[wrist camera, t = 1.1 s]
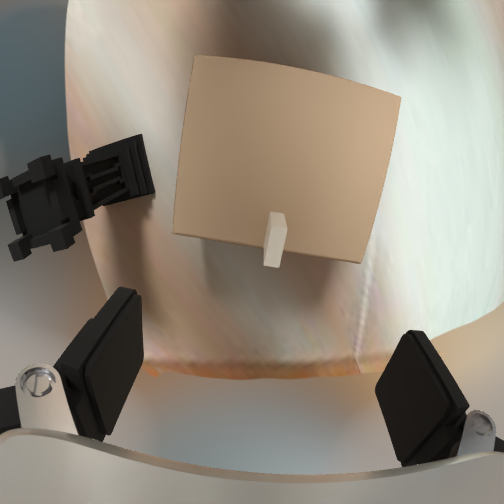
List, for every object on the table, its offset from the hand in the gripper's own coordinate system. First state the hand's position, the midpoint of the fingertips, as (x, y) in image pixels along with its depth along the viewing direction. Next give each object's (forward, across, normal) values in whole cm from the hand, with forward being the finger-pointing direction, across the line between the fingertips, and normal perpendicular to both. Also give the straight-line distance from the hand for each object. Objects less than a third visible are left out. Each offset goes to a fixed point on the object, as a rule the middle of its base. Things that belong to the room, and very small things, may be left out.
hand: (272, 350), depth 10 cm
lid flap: (+18, -1, -5) cm, 18 cm away
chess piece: (+30, +19, 0) cm, 36 cm away
